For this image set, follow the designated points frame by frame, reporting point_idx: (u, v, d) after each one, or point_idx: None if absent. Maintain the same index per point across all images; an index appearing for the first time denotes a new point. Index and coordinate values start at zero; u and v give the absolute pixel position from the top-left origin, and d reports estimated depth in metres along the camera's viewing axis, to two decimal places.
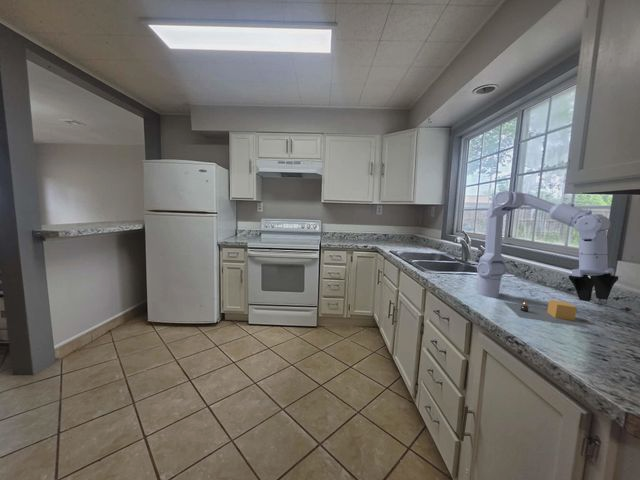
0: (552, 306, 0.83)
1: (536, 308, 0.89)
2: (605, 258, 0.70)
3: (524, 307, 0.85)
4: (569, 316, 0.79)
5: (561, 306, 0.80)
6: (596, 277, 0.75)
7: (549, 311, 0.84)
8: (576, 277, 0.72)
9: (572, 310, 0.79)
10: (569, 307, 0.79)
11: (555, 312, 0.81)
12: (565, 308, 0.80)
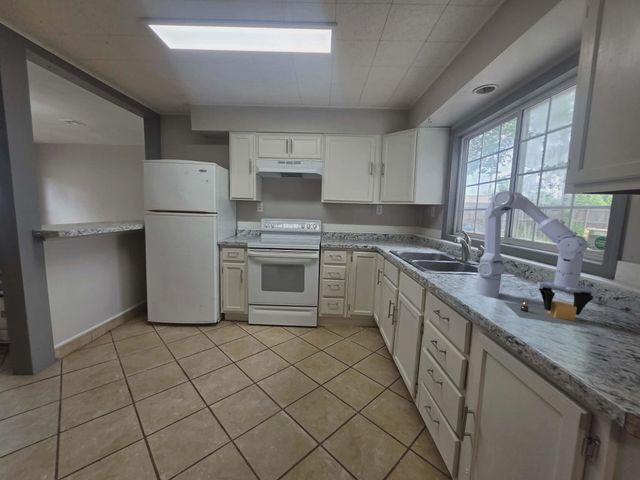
0: (552, 306, 0.83)
1: (536, 308, 0.89)
2: (572, 277, 0.78)
3: (524, 307, 0.85)
4: (569, 316, 0.79)
5: (561, 306, 0.80)
6: (576, 294, 0.81)
7: (549, 311, 0.84)
8: (541, 288, 0.84)
9: (572, 310, 0.79)
10: (569, 307, 0.79)
11: (555, 312, 0.81)
12: (565, 308, 0.80)
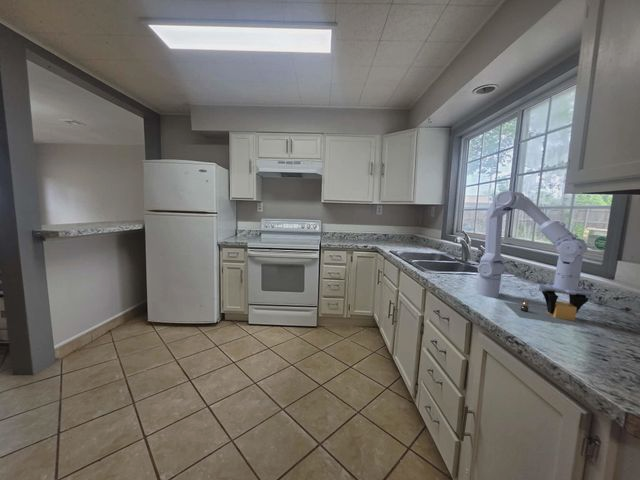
0: None
1: (536, 308, 0.89)
2: (571, 280, 0.78)
3: (524, 307, 0.85)
4: (569, 316, 0.79)
5: (561, 306, 0.80)
6: (571, 296, 0.82)
7: None
8: (544, 291, 0.84)
9: (572, 310, 0.79)
10: (569, 307, 0.79)
11: (555, 312, 0.81)
12: (565, 308, 0.80)
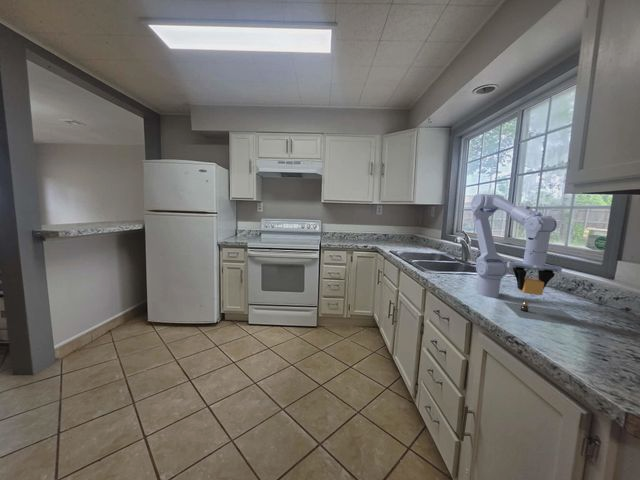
0: None
1: (536, 308, 0.89)
2: (539, 255, 0.80)
3: (524, 307, 0.85)
4: (537, 291, 0.82)
5: (529, 281, 0.82)
6: (540, 272, 0.84)
7: None
8: (514, 268, 0.86)
9: (540, 285, 0.81)
10: (537, 282, 0.82)
11: (524, 288, 0.83)
12: (533, 283, 0.82)
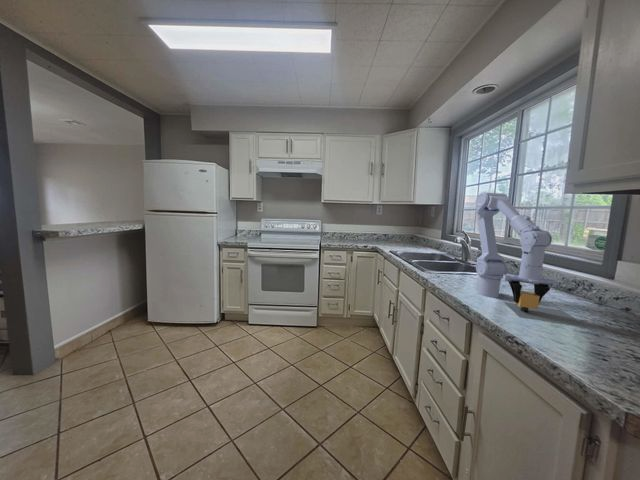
0: None
1: None
2: (534, 270, 0.81)
3: (524, 307, 0.85)
4: (532, 305, 0.82)
5: (525, 295, 0.83)
6: (536, 285, 0.85)
7: None
8: (510, 281, 0.87)
9: (535, 299, 0.82)
10: (532, 296, 0.82)
11: (520, 301, 0.84)
12: (529, 297, 0.83)
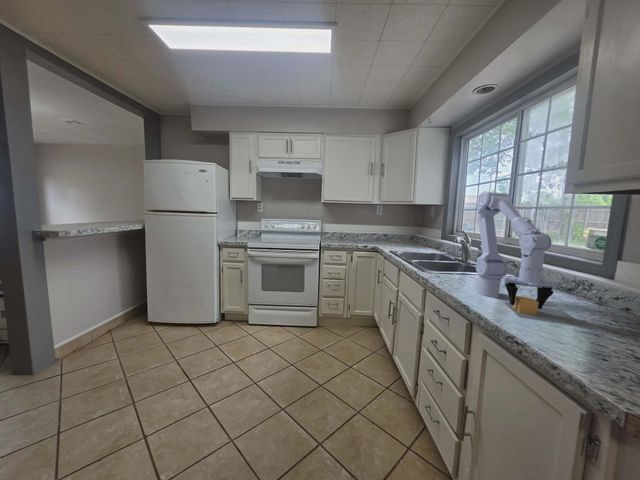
0: (517, 301, 0.86)
1: None
2: (533, 273, 0.81)
3: None
4: (531, 311, 0.83)
5: (524, 301, 0.83)
6: (539, 289, 0.84)
7: (514, 306, 0.87)
8: (506, 284, 0.87)
9: (534, 305, 0.82)
10: (531, 302, 0.83)
11: (519, 307, 0.84)
12: (528, 303, 0.83)
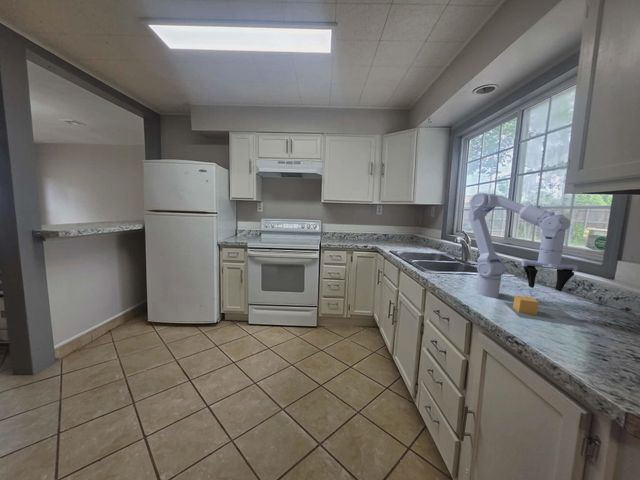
0: (517, 301, 0.86)
1: None
2: (554, 254, 0.81)
3: None
4: (531, 311, 0.83)
5: (524, 301, 0.83)
6: (559, 271, 0.84)
7: (514, 306, 0.87)
8: (525, 267, 0.87)
9: (534, 305, 0.82)
10: (531, 302, 0.83)
11: (519, 307, 0.84)
12: (528, 303, 0.83)
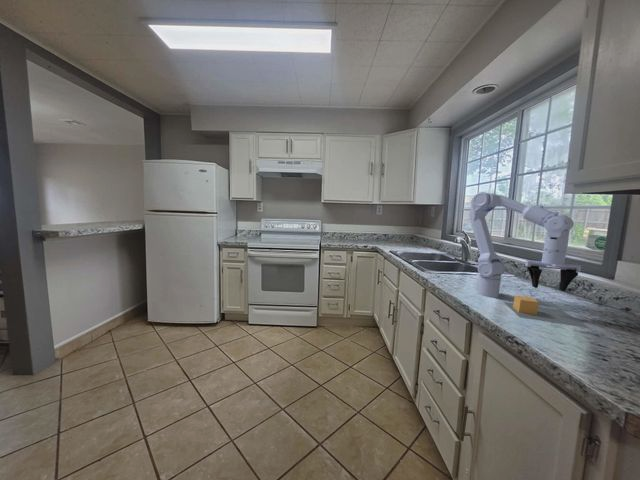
0: (517, 301, 0.86)
1: None
2: (558, 254, 0.81)
3: None
4: (531, 311, 0.83)
5: (524, 301, 0.83)
6: (562, 271, 0.84)
7: (514, 306, 0.87)
8: (529, 267, 0.87)
9: (534, 305, 0.82)
10: (531, 302, 0.83)
11: (519, 307, 0.84)
12: (528, 303, 0.83)
